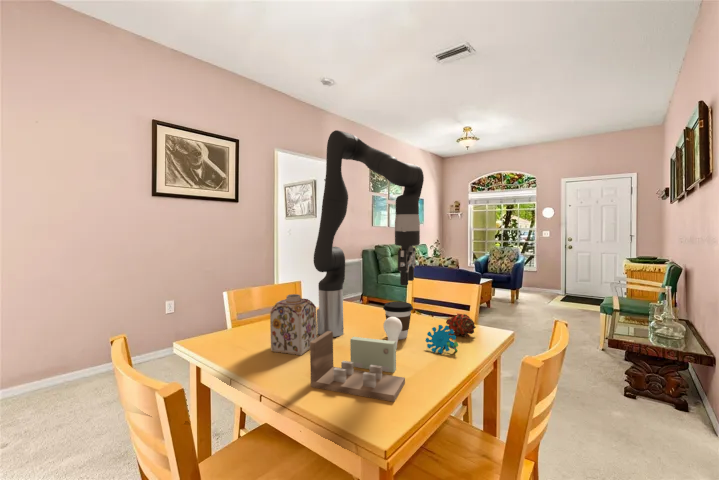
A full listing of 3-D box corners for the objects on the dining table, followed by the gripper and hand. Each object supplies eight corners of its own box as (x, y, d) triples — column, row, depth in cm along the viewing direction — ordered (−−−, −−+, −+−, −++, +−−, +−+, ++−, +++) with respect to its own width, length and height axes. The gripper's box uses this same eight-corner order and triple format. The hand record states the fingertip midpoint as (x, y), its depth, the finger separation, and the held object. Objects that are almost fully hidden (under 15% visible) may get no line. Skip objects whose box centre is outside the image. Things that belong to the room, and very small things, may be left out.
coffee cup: (379, 339, 122) (379, 306, 122) (388, 331, 133) (388, 300, 132) (409, 343, 118) (409, 308, 118) (416, 333, 128) (416, 302, 128)
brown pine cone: (475, 343, 121) (447, 340, 131) (484, 325, 126) (457, 323, 135) (464, 327, 119) (437, 324, 128) (473, 309, 123) (446, 308, 133)
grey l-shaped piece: (310, 386, 87) (310, 342, 86) (328, 371, 96) (327, 330, 96) (394, 401, 78) (393, 352, 78) (404, 383, 88) (404, 339, 87)
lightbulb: (390, 354, 108) (389, 320, 107) (380, 348, 113) (379, 316, 113) (406, 351, 110) (405, 317, 110) (395, 345, 116) (395, 313, 115)
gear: (419, 344, 112) (434, 319, 116) (425, 352, 116) (440, 328, 119) (447, 357, 104) (463, 331, 108) (453, 366, 108) (468, 340, 111)
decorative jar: (288, 340, 123) (287, 291, 122) (317, 344, 119) (317, 292, 118) (269, 352, 112) (268, 297, 111) (300, 356, 108) (299, 299, 107)
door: (348, 368, 98) (348, 340, 98) (353, 363, 101) (353, 336, 101) (392, 374, 93) (392, 345, 93) (396, 369, 97) (395, 341, 96)
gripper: (400, 229, 111) (400, 278, 112) (389, 230, 98) (389, 286, 98) (423, 229, 109) (423, 279, 109) (415, 230, 95) (415, 287, 96)
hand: (407, 282), depth 104 cm, fingers open, 8 cm apart
